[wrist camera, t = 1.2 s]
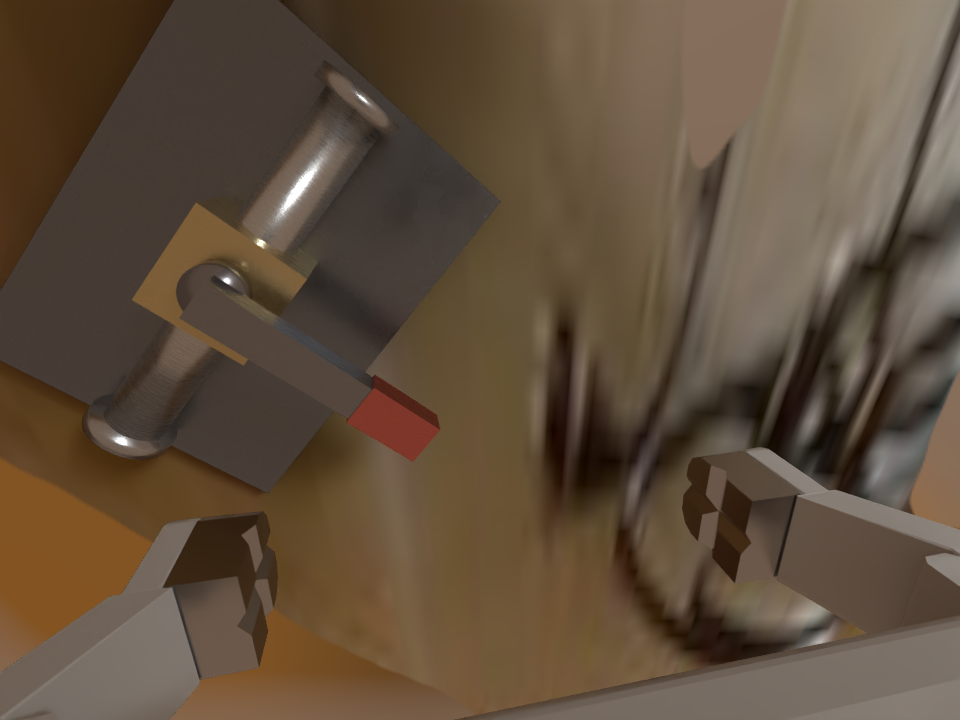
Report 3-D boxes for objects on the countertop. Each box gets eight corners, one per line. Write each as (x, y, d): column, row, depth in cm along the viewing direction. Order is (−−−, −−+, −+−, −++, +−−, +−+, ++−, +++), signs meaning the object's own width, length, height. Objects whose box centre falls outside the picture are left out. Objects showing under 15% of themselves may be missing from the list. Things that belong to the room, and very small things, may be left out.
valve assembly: (218, -51, 29) (170, -113, 22) (496, 199, 37) (520, 208, 31) (-16, 337, 34) (-109, 379, 28) (271, 482, 43) (251, 541, 36)
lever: (173, 296, 29) (147, 312, 26) (206, 246, 28) (184, 258, 25) (406, 438, 35) (408, 466, 32) (438, 400, 34) (443, 425, 31)
